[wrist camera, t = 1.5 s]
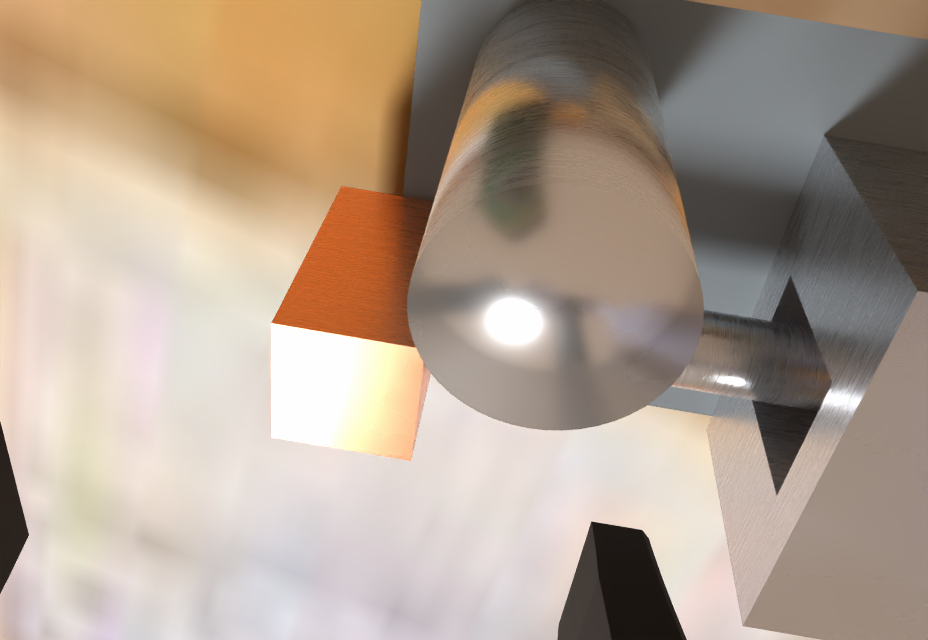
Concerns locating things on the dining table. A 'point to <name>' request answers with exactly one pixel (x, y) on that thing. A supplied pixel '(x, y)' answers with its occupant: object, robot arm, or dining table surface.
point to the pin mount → (840, 413)
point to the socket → (846, 13)
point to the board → (709, 120)
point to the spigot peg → (558, 230)
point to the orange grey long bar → (399, 364)
